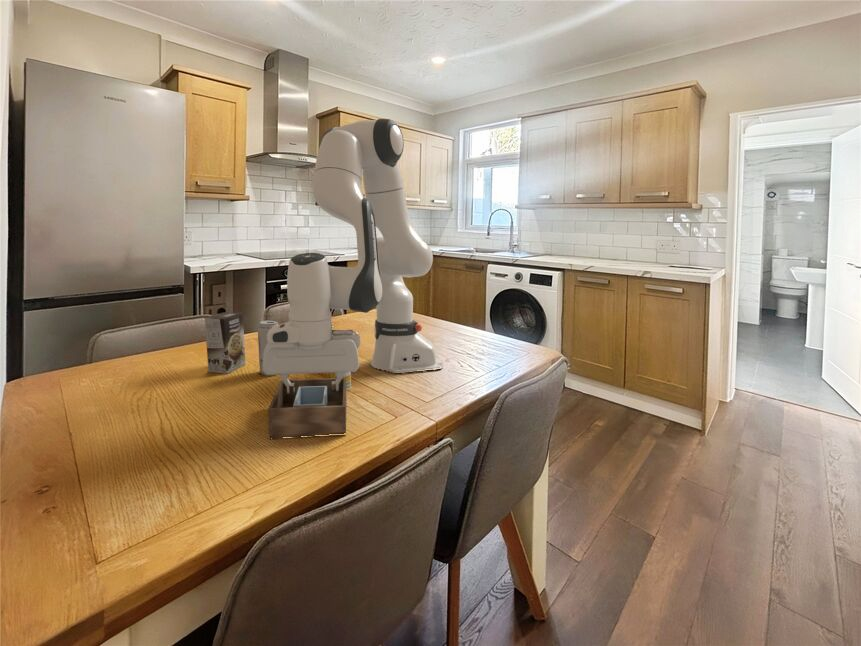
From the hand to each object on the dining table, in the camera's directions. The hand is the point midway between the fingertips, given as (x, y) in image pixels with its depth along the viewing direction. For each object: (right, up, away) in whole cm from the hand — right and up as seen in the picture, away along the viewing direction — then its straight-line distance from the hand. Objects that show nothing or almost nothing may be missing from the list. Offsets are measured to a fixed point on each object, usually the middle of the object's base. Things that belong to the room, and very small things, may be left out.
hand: (313, 391), depth 99 cm
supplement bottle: (+2, -3, +21) cm, 21 cm away
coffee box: (-34, +1, +33) cm, 47 cm away
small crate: (-1, -6, +1) cm, 6 cm away
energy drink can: (-20, 0, +30) cm, 37 cm away
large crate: (-1, -7, +1) cm, 7 cm away
